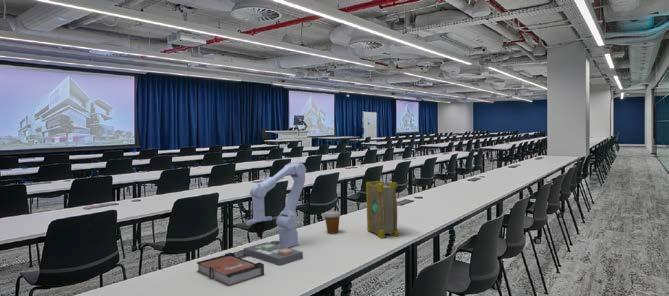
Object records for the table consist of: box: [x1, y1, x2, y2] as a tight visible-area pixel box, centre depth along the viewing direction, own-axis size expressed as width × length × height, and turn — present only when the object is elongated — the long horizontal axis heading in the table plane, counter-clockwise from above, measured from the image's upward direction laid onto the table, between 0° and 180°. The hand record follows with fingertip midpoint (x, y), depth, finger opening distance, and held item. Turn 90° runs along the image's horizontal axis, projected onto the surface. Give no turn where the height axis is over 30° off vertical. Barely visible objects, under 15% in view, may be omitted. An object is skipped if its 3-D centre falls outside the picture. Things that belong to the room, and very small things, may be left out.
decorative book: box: [365, 180, 400, 239], centre depth 236 cm, size 20×11×30 cm, turn 21°
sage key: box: [261, 243, 276, 251], centre depth 202 cm, size 5×5×2 cm
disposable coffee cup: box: [324, 210, 341, 235], centre depth 243 cm, size 10×10×12 cm
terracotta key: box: [278, 248, 293, 256], centre depth 193 cm, size 5×5×2 cm
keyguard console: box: [243, 242, 304, 267], centre depth 200 cm, size 14×28×3 cm, turn 46°
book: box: [196, 252, 265, 287], centre depth 177 cm, size 26×18×5 cm
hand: (259, 236), depth 208 cm, fingers closed
